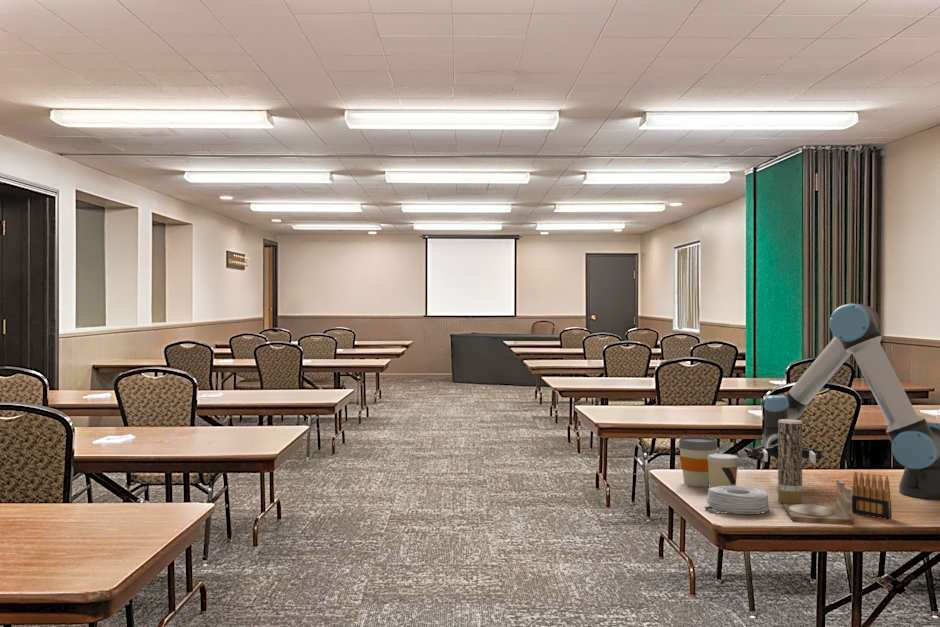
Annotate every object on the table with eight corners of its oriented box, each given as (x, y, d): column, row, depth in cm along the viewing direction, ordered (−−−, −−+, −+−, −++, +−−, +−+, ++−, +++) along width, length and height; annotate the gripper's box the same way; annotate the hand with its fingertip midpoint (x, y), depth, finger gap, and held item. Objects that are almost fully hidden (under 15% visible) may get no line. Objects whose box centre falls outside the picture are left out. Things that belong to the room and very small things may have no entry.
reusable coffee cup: (672, 480, 284) (672, 437, 284) (706, 479, 287) (706, 436, 287) (689, 488, 272) (688, 442, 272) (724, 486, 274) (724, 441, 274)
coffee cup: (727, 498, 257) (727, 459, 257) (701, 493, 265) (701, 455, 265) (743, 493, 263) (743, 456, 263) (718, 489, 271) (718, 452, 271)
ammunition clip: (850, 512, 239) (850, 471, 239) (853, 511, 240) (853, 470, 240) (888, 519, 231) (888, 476, 231) (891, 518, 232) (891, 476, 232)
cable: (702, 513, 240) (702, 492, 240) (711, 500, 256) (711, 480, 256) (766, 519, 232) (766, 497, 232) (771, 505, 248) (771, 485, 248)
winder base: (841, 510, 241) (841, 479, 241) (853, 524, 226) (853, 490, 226) (783, 507, 245) (783, 476, 245) (791, 521, 229) (791, 487, 229)
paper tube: (798, 500, 254) (798, 419, 254) (805, 505, 247) (805, 422, 247) (775, 500, 255) (775, 419, 255) (781, 505, 248) (781, 422, 248)
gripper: (821, 459, 267) (834, 472, 246) (740, 456, 272) (746, 468, 252) (821, 436, 267) (834, 447, 246) (740, 434, 272) (746, 444, 252)
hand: (790, 458), depth 249 cm, fingers open, 13 cm apart
